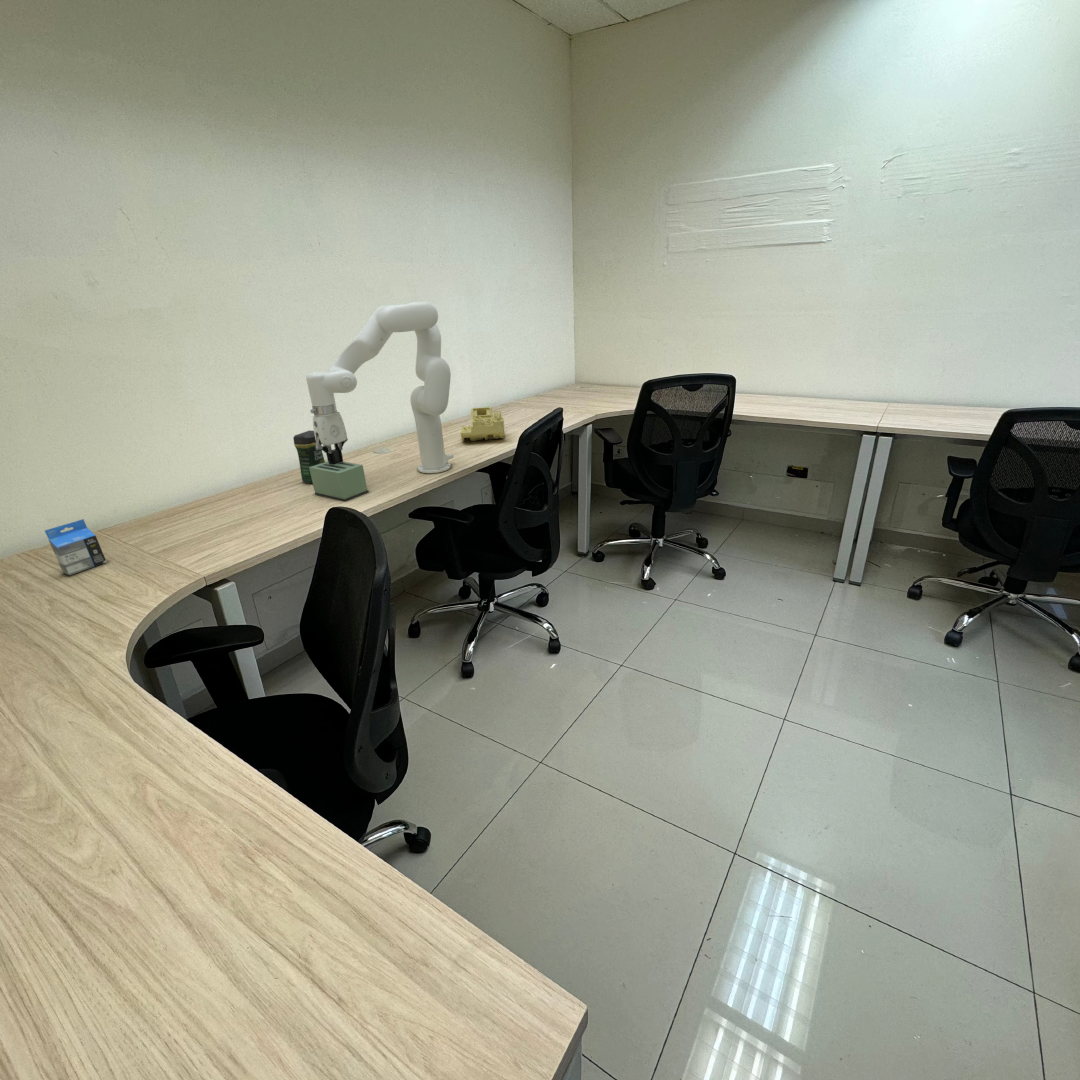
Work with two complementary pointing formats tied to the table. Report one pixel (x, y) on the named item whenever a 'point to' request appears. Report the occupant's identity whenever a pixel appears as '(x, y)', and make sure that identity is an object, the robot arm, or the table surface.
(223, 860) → the table surface
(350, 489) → the toaster
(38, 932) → the table surface
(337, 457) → the slider
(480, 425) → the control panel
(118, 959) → the table surface
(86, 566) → the tape cartridge
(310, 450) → the coffee jar
